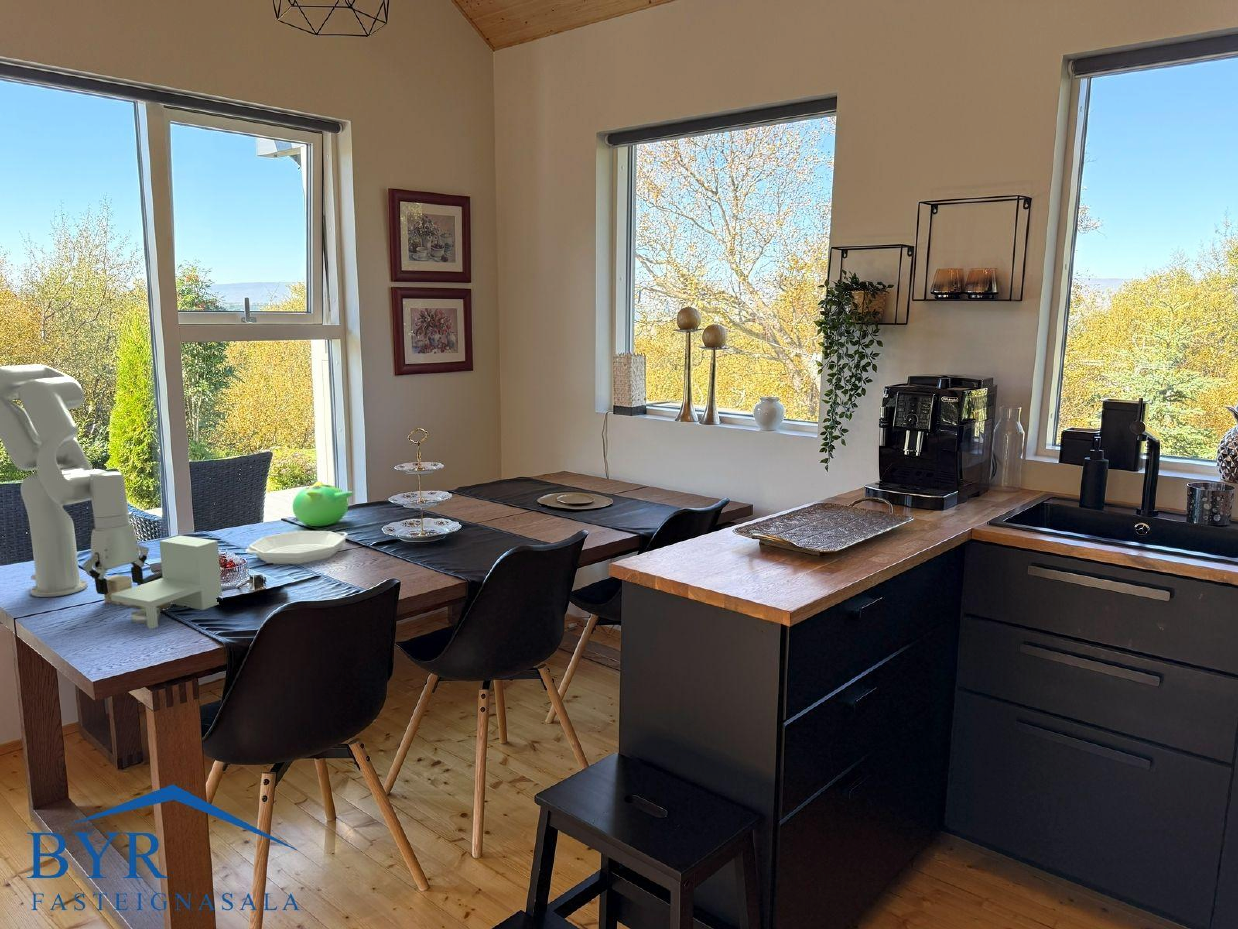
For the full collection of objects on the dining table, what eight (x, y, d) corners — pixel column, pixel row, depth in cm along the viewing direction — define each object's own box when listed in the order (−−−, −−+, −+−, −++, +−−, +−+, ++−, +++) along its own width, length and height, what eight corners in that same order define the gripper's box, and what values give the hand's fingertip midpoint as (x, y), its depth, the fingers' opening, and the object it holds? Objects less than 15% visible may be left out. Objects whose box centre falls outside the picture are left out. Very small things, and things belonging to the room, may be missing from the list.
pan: (329, 538, 284) (328, 525, 283) (366, 554, 266) (366, 540, 265) (230, 556, 263) (229, 542, 262) (264, 574, 245) (262, 559, 244)
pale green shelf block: (113, 620, 208) (106, 555, 205) (185, 596, 226) (180, 535, 223) (152, 628, 202) (145, 561, 200) (222, 602, 220) (217, 540, 218)
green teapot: (338, 517, 312) (335, 476, 309) (358, 525, 299) (355, 483, 297) (287, 524, 300) (284, 482, 298) (305, 534, 288) (303, 490, 285)
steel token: (126, 622, 207) (125, 614, 207) (148, 614, 213) (148, 606, 212) (144, 626, 205) (143, 617, 205) (166, 617, 210) (165, 609, 210)
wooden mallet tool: (105, 602, 221) (102, 579, 220) (119, 597, 225) (117, 574, 224) (158, 612, 213) (156, 588, 212) (172, 607, 217) (170, 584, 216)
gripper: (133, 513, 227) (141, 577, 230) (68, 528, 212) (77, 597, 214) (153, 515, 224) (161, 579, 227) (89, 530, 209) (98, 599, 211)
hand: (120, 588), depth 221 cm, fingers open, 9 cm apart
